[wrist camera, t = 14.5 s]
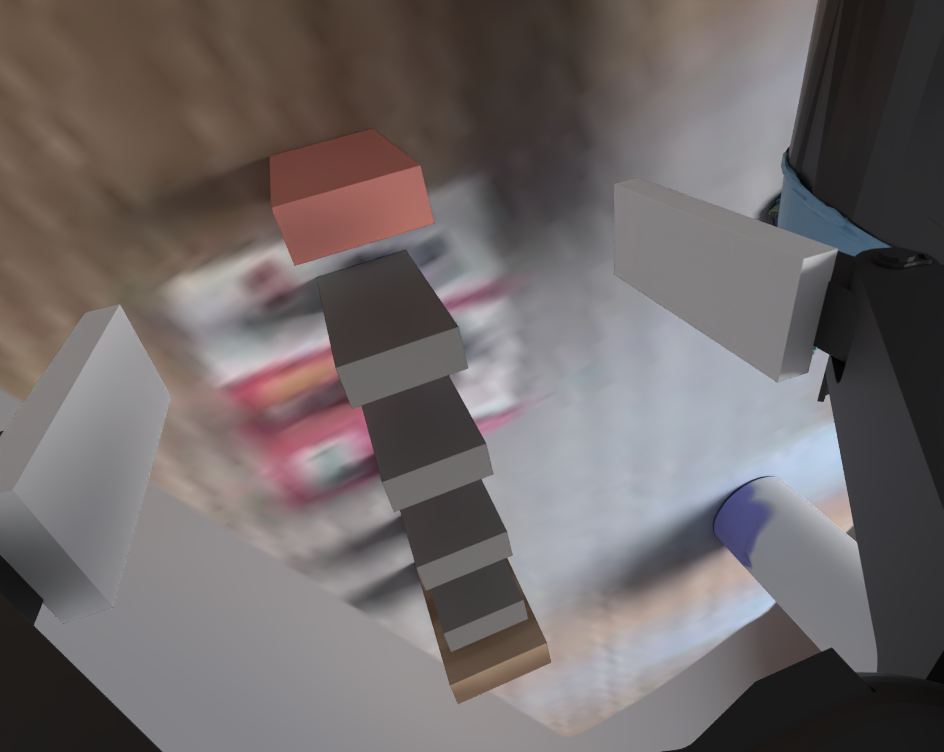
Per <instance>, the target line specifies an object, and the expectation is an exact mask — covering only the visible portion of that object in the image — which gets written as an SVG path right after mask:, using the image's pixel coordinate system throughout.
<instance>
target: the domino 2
mask: <svg viewBox="0 0 944 752" xmlns="http://www.w3.org/2000/svg"><path fill="white" fill-rule="evenodd" d="M362 409H363V412H364V416H365V420H366V424H367V428H368V431H369V435H370V439H371V443H372V446H373V450H374V454H375V458H376V462H377V465H378V469H379V473H380V477H381V481H382V484H383V486H384V489H385V491H386V493H387V496H388V498H389V501H390V503H391V506H392V508H393V511H394V512H396V511H399V510H401V509H404V508H407V507H409V506H412V505H414V504H417V503H420V502H422V501H425V500H427V499H430V498H433V497H435V496H438V495H440V494H443V493H446V492H448V491H451V490H454V489H456V488H459V487H461V486H464V485H467V484H469V483H472V482H474V481H477V480H480V479H482V478H485V477H487V476H490V475H493V470H492V466H491V462H490V457H489V453H488V449H487V445H486V442H485V440H484V439H483V437H482V435H481V433H480V431H479V430H478V428H477V426H476V424H475V422H474V421H473V419H472V417H471V415H470V413H469V411H468V410H467V408H466V406H465V404H464V402H463V401H462V399H461V397H460V395H459V393H458V392H457V390H456V388H455V386H454V384H453V382H452V381H451V379H450V377H449V375H447V376H444V377H441V378H438V379H436V380H433V381H430V382H427V383H424V384H421V385H418V386H415V387H413V388H410V389H407V390H404V391H401V392H398V393H395V394H393V395H390V396H387V397H384V398H381V399H378V400H375V401H372V402H370V403H367V404H364V405H362Z"/></svg>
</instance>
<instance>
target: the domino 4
mask: <svg viewBox="0 0 944 752" xmlns="http://www.w3.org/2000/svg"><path fill="white" fill-rule="evenodd" d="M430 590H431V594H432V597H433V600H434V603H435V607H436V610H437V613H438V617H439V620H440V623H441V627H442V630H443V633H444V636H445V638H446V641H447V643H448V646H449V648H450V651H451V652H452V651H455V650H457V649H459V648H462V647H464V646H466V645H468V644H471V643H473V642H475V641H478V640H480V639H482V638H485V637H487V636H489V635H492V634H494V633H496V632H499V631H501V630H503V629H506V628H508V627H510V626H512V625H515V624H517V623H519V622H522V621H524V620H526V619H528V616H527V612H526V608H525V604H524V600H523V598H522V595H521V593H520V591H519V589H518V587H517V585H516V582H515V580H514V578H513V576H512V574H511V572H510V570H509V567H508V565H507V563H506V561H505V559H502V560H500V561H497V562H495V563H493V564H490V565H488V566H485V567H483V568H480V569H478V570H475V571H473V572H471V573H468V574H466V575H463V576H461V577H458V578H456V579H453V580H451V581H449V582H446V583H444V584H441V585H439V586H436V587H434V588H431V589H430Z"/></svg>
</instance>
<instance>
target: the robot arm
mask: <svg viewBox="0 0 944 752" xmlns="http://www.w3.org/2000/svg"><path fill="white" fill-rule="evenodd" d="M781 168H782V172H783V174H784V179H783V186H782V193H781V201H780V208H779V215H778V227H775V226H772V225H770V224H767V223H764V222H761V221H758V220H756V219H753V218H750V217H747V216H744V215H742V214H739V213H736V212H733V211H730V210H728V209H725V208H722V207H719V206H716V205H713V204H711V203H708V202H705V201H702V200H699V199H697V198H694V197H691V196H688V195H685V194H683V193H680V192H677V191H674V190H671V189H668V188H666V187H663V186H660V185H657V184H654V183H652V182H649V181H646V180H643V179H640V178H636V179H632V180H628V181H624V182H620V183H616V184H614V275H616V276H617V277H619V278H620V279H622V280H623V281H625V282H626V283H628V284H629V285H631V286H632V287H634V288H635V289H637V290H638V291H640V292H641V293H643V294H644V295H646V296H647V297H649V298H650V299H652V300H653V301H655V302H656V303H658V304H659V305H661V306H663V307H664V308H666V309H667V310H669V311H670V312H672V313H673V314H675V315H676V316H678V317H679V318H681V319H682V320H684V321H685V322H687V323H688V324H690V325H691V326H693V327H694V328H696V329H697V330H699V331H700V332H702V333H703V334H705V335H706V336H708V337H709V338H711V339H712V340H714V341H715V342H717V343H719V344H720V345H722V346H723V347H725V348H726V349H728V350H729V351H731V352H732V353H734V354H735V355H737V356H738V357H740V358H741V359H743V360H744V361H746V362H747V363H749V364H750V365H752V366H753V367H755V368H756V369H758V370H759V371H761V372H762V373H764V374H765V375H767V376H768V377H770V378H772V379H773V380H775V381H776V382H781V381H784V380H787V379H790V378H793V377H796V376H799V375H802V374H805V373H808V371H809V367H810V363H811V359H812V355H813V350H814V346H815V347H817V348H819V349H820V350H822V351H824V352H826V353H828V354H829V359H828V362H827V366H826V370H825V374H824V378H823V381H822V385H821V389H820V393H819V397H818V401H820V402H824V399H825V396H826V395H828V394H829V395H830V400H831V405H832V411H833V416H834V422H835V427H836V432H837V438H838V443H839V448H840V454H841V459H842V464H843V470H844V475H845V481H846V486H847V491H848V497H849V502H850V507H851V513H852V518H853V523H854V528H855V534H856V539H857V545H858V550H859V556H860V561H861V566H862V572H863V577H864V582H865V588H866V593H867V598H868V604H869V609H870V614H871V620H872V625H873V631H874V636H875V641H876V648H877V672H855V671H854V670H853V669H852V668H851V667H850V666H849V665H848V664H847V663H846V662H845V661H844V660H843V659H842V657H841V656H840V655H839V654H838V653H837V652H836V651H835V650H834V649H833V648H832V647H831V648H829V649H827V650H824V651H822V652H820V653H818V654H816V655H813V656H811V657H809V658H807V659H805V660H803V661H800V662H798V663H796V664H794V665H791V666H789V667H787V668H785V669H782V670H780V671H778V672H776V673H774V674H771V675H769V676H767V677H765V678H763V679H760V680H758V681H756V682H755V683H754V684H753V685H752V686H751V687H749V688H748V690H746V692H744V693H743V694H742V695H741V696H740V697H739V698H738V699H737V700H736V701H735V702H734V703H733V704H732V705H731V706H730V707H729V708H728V709H727V710H726V711H725V712H724V713H723V714H722V715H721V716H720V717H719V718H718V719H717V720H716V721H715V722H714V723H713V724H712V725H711V726H710V727H709V728H708V729H707V730H706V731H705V732H704V733H703V734H702V735H701V736H700V737H699V738H697V739H696V740H695V741H694V742H693V743H692V744H691V745H689V746H687V747H685V748H682V749H678V750H672V751H663V752H944V0H818V3H817V8H816V14H815V19H814V24H813V30H812V35H811V40H810V46H809V51H808V56H807V62H806V67H805V72H804V78H803V83H802V88H801V94H800V99H799V104H798V110H797V115H796V120H795V125H794V130H793V135H792V139H791V144H790V147H789V148H788V149H787V150H786V152H784V153H783V157H782V164H781ZM170 401H171V396H170V394H169V392H168V390H167V388H166V387H165V385H164V383H163V381H162V379H161V377H160V376H159V374H158V372H157V370H156V368H155V367H154V365H153V363H152V361H151V359H150V358H149V356H148V354H147V352H146V350H145V349H144V347H143V345H142V343H141V341H140V340H139V338H138V336H137V334H136V332H135V331H134V329H133V327H132V325H131V323H130V322H129V320H128V318H127V316H126V314H125V313H124V311H123V309H122V307H121V305H120V304H119V305H114V306H110V307H106V308H102V309H98V310H94V311H90V312H86V313H85V314H84V315H83V317H82V318H81V320H80V321H79V322H78V324H77V325H76V327H75V328H74V330H73V331H72V333H71V334H70V336H69V337H68V338H67V340H66V341H65V343H64V344H63V346H62V347H61V349H60V350H59V352H58V353H57V354H56V356H55V357H54V359H53V360H52V362H51V363H50V365H49V366H48V368H47V369H46V370H45V372H44V373H43V375H42V376H41V378H40V379H39V381H38V382H37V384H36V385H35V386H34V388H33V389H32V391H31V392H30V394H29V395H28V397H27V398H26V400H25V401H24V402H23V404H22V405H21V407H20V408H19V410H18V411H17V413H16V414H15V416H14V417H13V418H12V420H11V421H10V423H9V424H8V426H7V427H6V429H5V430H4V431H1V432H0V752H162V751H161V750H160V749H159V748H158V747H157V746H156V745H155V744H154V743H153V742H152V741H151V740H150V739H149V738H148V737H147V736H146V735H145V734H144V733H143V732H142V731H141V730H140V729H139V728H138V727H137V726H136V725H135V724H133V722H131V720H130V719H129V718H127V717H126V716H125V715H124V714H123V713H122V712H121V711H120V710H119V709H118V708H117V707H116V706H115V705H114V704H113V703H112V702H111V701H110V700H109V699H108V698H107V697H106V696H105V695H104V694H103V693H102V692H101V691H100V690H99V689H98V688H97V687H96V686H95V685H94V684H93V683H92V682H91V681H90V680H89V679H88V678H87V677H86V676H85V675H84V674H82V672H80V670H78V669H77V668H76V667H75V666H74V665H73V664H72V663H71V662H70V661H69V660H68V659H67V658H66V657H65V656H64V655H63V654H62V653H61V652H60V651H59V650H58V649H57V648H56V647H55V646H54V645H53V644H52V643H51V642H50V641H49V640H48V639H47V638H46V637H45V636H44V635H43V634H41V632H40V631H39V630H38V629H37V628H35V626H34V623H35V620H36V618H37V616H38V613H39V611H40V608H41V605H42V603H43V604H44V605H45V606H46V607H47V608H48V609H49V610H50V611H51V612H52V613H53V614H54V615H55V616H56V617H57V618H58V619H59V620H60V621H61V622H62V623H63V624H66V623H69V622H72V621H75V620H78V619H81V618H84V617H87V616H90V615H93V614H96V613H99V612H101V611H105V610H107V609H110V608H113V607H114V603H115V600H116V596H117V593H118V589H119V585H120V581H121V578H122V574H123V571H124V567H125V564H126V560H127V556H128V553H129V549H130V545H131V542H132V538H133V535H134V531H135V527H136V523H137V520H138V516H139V513H140V509H141V506H142V502H143V498H144V495H145V491H146V487H147V484H148V480H149V477H150V473H151V469H152V466H153V462H154V459H155V455H156V451H157V448H158V444H159V441H160V437H161V433H162V430H163V426H164V422H165V419H166V415H167V412H168V408H169V404H170Z"/></svg>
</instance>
